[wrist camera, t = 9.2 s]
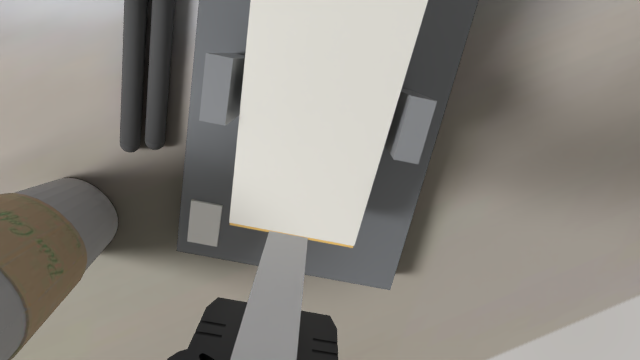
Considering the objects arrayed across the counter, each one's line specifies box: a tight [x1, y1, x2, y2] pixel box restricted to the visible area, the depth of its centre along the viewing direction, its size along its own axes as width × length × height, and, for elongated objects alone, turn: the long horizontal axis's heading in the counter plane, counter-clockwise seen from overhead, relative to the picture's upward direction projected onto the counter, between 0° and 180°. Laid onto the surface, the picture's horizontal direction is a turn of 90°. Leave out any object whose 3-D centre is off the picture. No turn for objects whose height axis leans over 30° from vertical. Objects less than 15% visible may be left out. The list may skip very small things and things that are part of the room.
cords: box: [120, 0, 175, 152], centre depth 22 cm, size 18×3×1 cm, turn 169°
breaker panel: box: [177, 0, 479, 290], centre depth 21 cm, size 24×15×8 cm, turn 169°
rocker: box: [229, 0, 428, 248], centre depth 19 cm, size 14×7×2 cm, turn 169°
